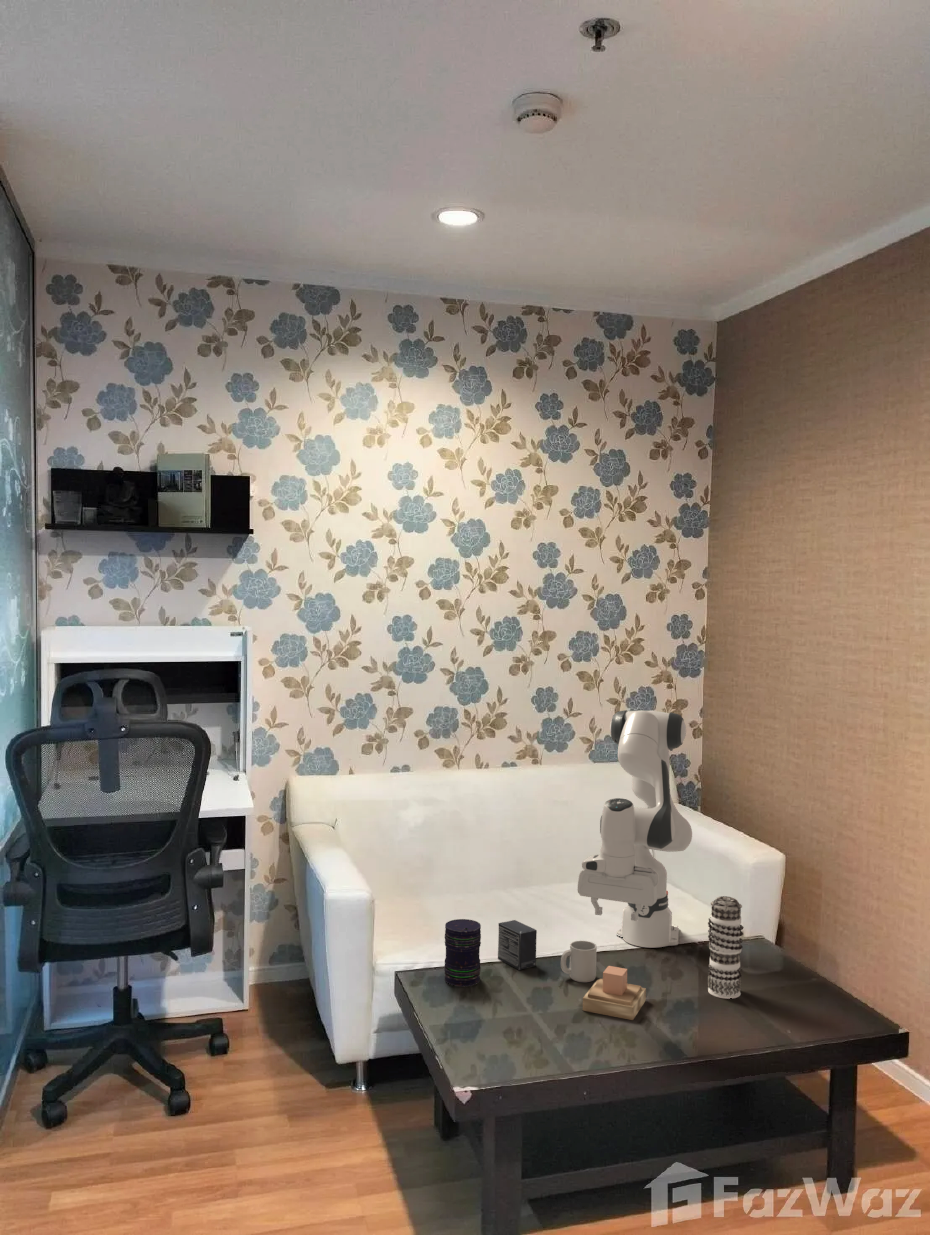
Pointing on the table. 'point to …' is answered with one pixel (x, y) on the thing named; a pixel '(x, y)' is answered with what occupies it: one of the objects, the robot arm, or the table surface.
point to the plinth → (614, 1001)
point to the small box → (517, 944)
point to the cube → (615, 980)
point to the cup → (580, 961)
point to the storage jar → (462, 952)
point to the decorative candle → (725, 948)
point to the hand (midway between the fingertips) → (616, 917)
